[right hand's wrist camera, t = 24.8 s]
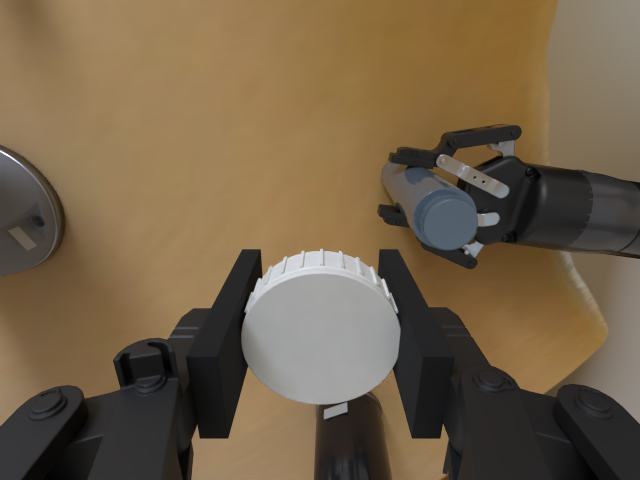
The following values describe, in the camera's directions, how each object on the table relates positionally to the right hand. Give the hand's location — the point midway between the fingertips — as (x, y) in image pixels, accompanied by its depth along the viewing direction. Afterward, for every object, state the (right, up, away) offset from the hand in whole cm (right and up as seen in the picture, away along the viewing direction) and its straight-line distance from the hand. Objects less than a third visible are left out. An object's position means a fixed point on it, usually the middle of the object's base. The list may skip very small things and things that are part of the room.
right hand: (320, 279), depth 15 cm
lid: (0, -1, -4) cm, 4 cm away
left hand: (+6, +7, +18) cm, 20 cm away
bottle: (+9, +9, +23) cm, 26 cm away
